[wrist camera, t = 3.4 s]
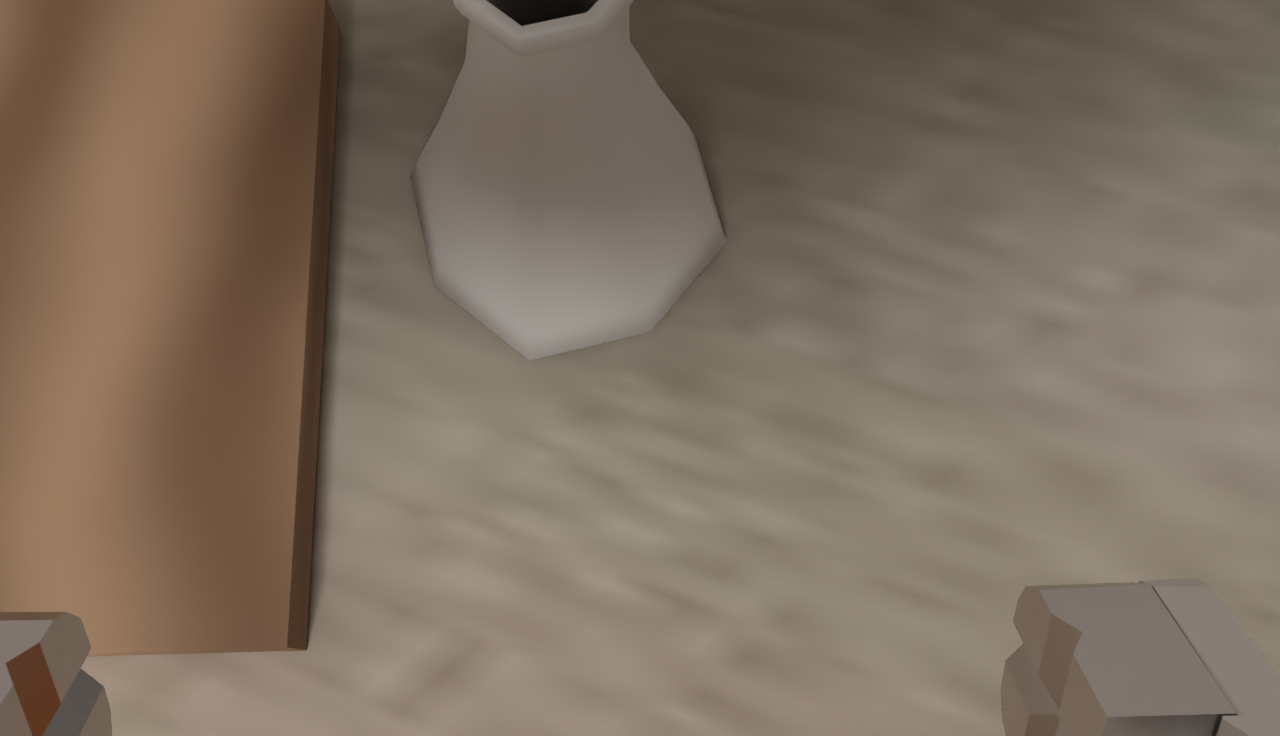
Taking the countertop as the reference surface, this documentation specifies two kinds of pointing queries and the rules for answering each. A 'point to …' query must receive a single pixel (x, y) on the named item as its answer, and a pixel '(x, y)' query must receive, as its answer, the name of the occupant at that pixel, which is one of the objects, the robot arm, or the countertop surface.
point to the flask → (562, 180)
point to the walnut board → (163, 315)
